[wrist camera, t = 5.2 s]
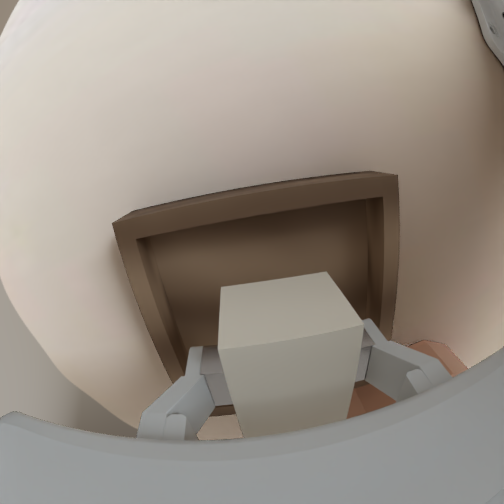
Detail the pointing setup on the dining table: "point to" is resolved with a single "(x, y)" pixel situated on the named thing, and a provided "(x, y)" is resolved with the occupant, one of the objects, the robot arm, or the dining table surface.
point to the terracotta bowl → (374, 399)
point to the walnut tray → (260, 253)
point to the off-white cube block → (288, 352)
